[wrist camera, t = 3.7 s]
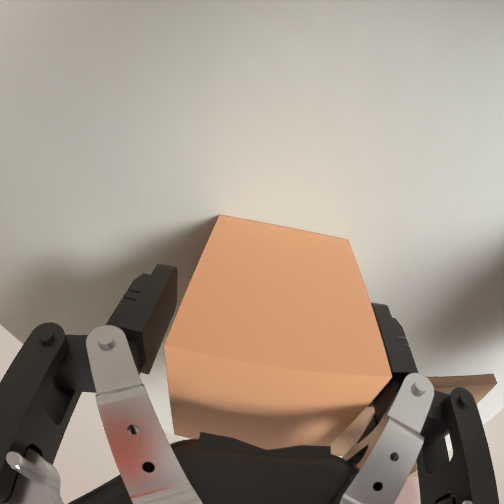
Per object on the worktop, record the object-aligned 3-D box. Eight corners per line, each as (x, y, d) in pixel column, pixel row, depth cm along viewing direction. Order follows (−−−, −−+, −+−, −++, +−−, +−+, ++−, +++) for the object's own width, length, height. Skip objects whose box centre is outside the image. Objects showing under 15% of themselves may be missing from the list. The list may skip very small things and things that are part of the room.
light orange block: (219, 214, 12) (164, 344, 6) (348, 240, 12) (392, 377, 6) (208, 312, 14) (174, 434, 9) (313, 329, 14) (319, 454, 9)
